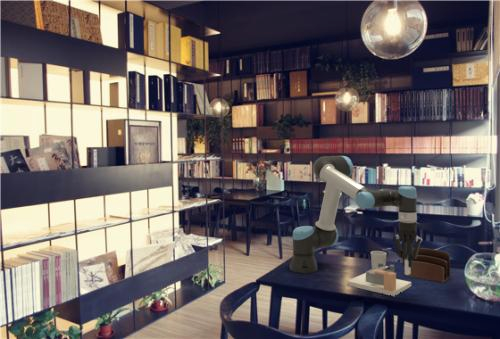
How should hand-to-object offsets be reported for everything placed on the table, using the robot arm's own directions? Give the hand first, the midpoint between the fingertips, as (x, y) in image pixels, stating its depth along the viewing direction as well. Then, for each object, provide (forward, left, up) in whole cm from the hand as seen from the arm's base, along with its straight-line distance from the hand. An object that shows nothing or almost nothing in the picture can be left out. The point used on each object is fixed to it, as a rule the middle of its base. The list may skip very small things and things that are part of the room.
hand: (407, 274), depth 192 cm
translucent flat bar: (-17, +8, -4) cm, 19 cm away
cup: (-25, +23, -11) cm, 36 cm away
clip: (-10, 0, -9) cm, 14 cm away
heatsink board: (-17, +8, -11) cm, 22 cm away
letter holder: (-5, +37, -11) cm, 39 cm away
